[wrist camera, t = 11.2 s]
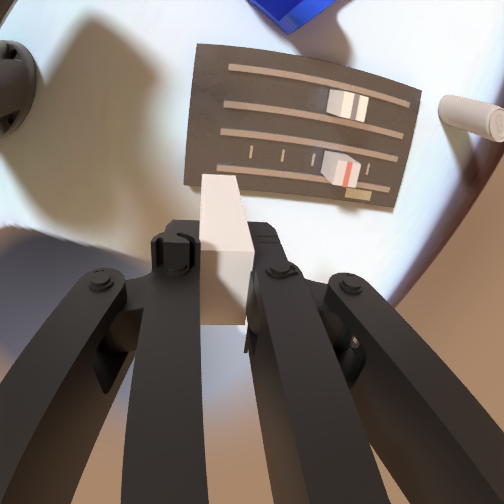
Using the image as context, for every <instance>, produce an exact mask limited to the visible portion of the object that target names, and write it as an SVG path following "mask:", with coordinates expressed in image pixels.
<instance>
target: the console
mask: <svg viewBox="0 0 504 504" xmlns="http://www.w3.org/2000/svg"><path fill="white" fill-rule="evenodd" d="M330 89H332V90H339V91H346V92H350V93H356V94H360V95H362V96H365V97H369V99H368V105H367V110H366V115H365V120H364V122H361V121H357V120H350V119H348V118H344V117H339V116H337V115H334V114H331V113H328V112H326V110H327V104H328V98H329V93H330ZM421 93H422V91H421V90H419V89H416V88H413V87H410V86H408V85H405V84H402V83H399V82H396V81H393V80H390V79H387V78H384V77H381V76H378V75H374V74H371V73H368V72H364V71H361V70H357V69H354V68H350V67H346V66H342V65H338V64H334V63H330V62H326V61H321V60H317V59H312V58H307V57H302V56H297V55H292V54H286V53H280V52H274V51H268V50H261V49H253V48H245V47H236V46H226V45H213V44H197V47H196V55H195V63H194V71H193V79H192V88H191V98H190V108H189V118H188V130H187V142H186V155H185V170H184V185H194V186H202V174H214V175H234V176H236V180H237V184H238V188H239V189H246V190H257V191H268V192H278V193H287V194H296V195H305V196H314V197H322V198H330V199H338V200H346V201H353V202H360V203H367V204H374V205H381V206H387V207H394V206H395V202H396V199H397V195H398V192H399V188H400V185H401V181H402V177H403V173H404V170H405V166H406V162H407V158H408V154H409V150H410V145H411V141H412V137H413V132H414V128H415V123H416V118H417V114H418V109H419V103H420V98H421ZM325 151H331V152H337V153H343V154H347V155H348V156H350V157H351V158H353V159H354V160H356V161H357V162H359V163H360V164H361V167H360V172H359V176H358V180H357V184H356V188H353V187H342V186H339V185H333V184H332V183H331V182H330V181H329V180H328V179H327V178H326V177H325V176H324V175H323V174H322V173H321V167H322V162H323V157H324V152H325Z"/></svg>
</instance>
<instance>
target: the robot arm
mask: <svg viewBox="0 0 504 504" xmlns="http://www.w3.org/2000/svg"><path fill="white" fill-rule="evenodd" d="M17 1H18V0H0V29H1V27H2V25H3V23H4V22H5V20H6V18H7V17H8V15H9V13H10V12H11V10H12V9H13V7H14V5H15V4H16V2H17ZM35 89H36V70H35V64H34V61H33V58H32V56H31V54H30V53H29V51H28V50H27V49H26V48H25V47H24V46H23V45H22V44H20V43H18V42H15V41H8V40H0V138H2V137H4V136H7V135H9V134H10V133H12V132H13V131H14V130H16V129H17V128H18V127H19V126H20V124H21V123H22V122H23V120H24V119H25V117H26V116H27V114H28V112H29V110H30V107H31V105H32V102H33V99H34V95H35ZM151 256H152V272H151V273H149V274H148V275H146V276H143V277H140V278H137V279H131V280H125V279H124V276H123V275H122V274H121V273H120V272H119V271H116V270H114V269H109V268H100V269H95V270H93V271H90V272H88V273H86V274H85V275H84V276H82V277H81V278H80V279H79V281H78V282H77V283H76V284H75V285H74V286H73V288H72V289H71V290H70V291H69V292H68V294H67V295H66V296H65V297H64V299H63V300H62V301H61V302H60V304H59V305H58V306H57V307H56V308H55V310H54V311H53V312H52V313H51V315H50V316H49V317H48V318H47V320H46V321H45V322H44V324H43V325H42V326H41V328H40V329H39V330H38V331H37V333H36V334H35V335H34V337H33V338H32V339H31V341H30V342H29V343H28V345H27V346H26V347H25V349H24V350H23V352H22V353H21V354H20V356H19V357H18V359H17V360H16V361H15V363H14V364H13V366H12V367H11V369H10V370H9V371H8V373H7V374H6V376H5V377H4V379H3V380H2V382H1V383H0V504H71V501H72V499H73V496H74V493H75V491H76V488H77V486H78V483H79V480H80V478H81V476H82V473H83V471H84V468H85V466H86V463H87V461H88V459H89V456H90V454H91V451H92V449H93V447H94V444H95V442H96V440H97V437H98V435H99V433H100V430H101V428H102V426H103V423H104V421H105V419H106V417H107V414H108V412H109V410H110V408H111V406H112V403H113V401H114V399H115V397H116V395H117V392H118V390H119V388H120V386H121V384H122V381H123V380H124V378H125V375H126V373H127V371H128V369H129V367H130V365H131V363H132V361H133V359H134V356H135V354H136V356H135V362H134V369H133V376H132V383H131V390H130V398H129V406H128V414H127V424H126V433H125V444H124V456H123V470H122V487H121V504H209V500H208V488H207V476H206V463H205V447H204V430H203V411H202V410H203V409H202V384H201V347H200V325H245V319H246V315H247V321H248V328H247V334H246V342H245V348H244V353H247V352H248V351H249V357H250V364H251V370H252V376H253V383H254V389H255V395H256V402H257V408H258V414H259V420H260V426H261V432H262V437H263V444H264V450H265V455H266V461H267V467H268V473H269V479H270V484H271V490H272V495H273V501H274V504H391V503H390V501H389V499H388V496H387V493H386V489H385V487H384V484H383V481H382V478H381V475H380V472H379V469H378V466H377V464H376V461H375V458H374V455H373V452H372V449H371V447H370V444H371V446H372V447H373V449H374V450H375V452H376V453H377V455H378V456H379V458H380V459H381V461H382V462H383V464H384V465H385V467H386V468H387V469H388V471H389V472H390V474H391V476H392V477H393V479H394V480H395V482H396V483H397V485H398V486H399V487H400V489H401V491H402V492H403V494H404V495H405V497H406V498H407V500H408V501H409V503H410V504H504V432H503V431H502V430H501V429H500V427H499V426H498V425H497V424H496V423H495V421H494V420H493V419H492V418H491V417H490V415H489V414H488V413H487V412H486V410H485V409H484V408H483V407H482V405H481V404H480V403H479V402H478V401H477V400H476V398H475V397H474V396H473V395H472V394H471V393H470V391H469V390H468V389H467V388H466V387H465V386H464V384H463V383H462V382H461V381H460V380H459V379H458V378H457V376H456V375H455V374H454V373H453V372H452V371H451V370H450V369H449V368H448V366H447V365H446V364H445V363H444V362H443V361H442V360H441V359H440V357H439V356H438V355H437V354H436V353H435V352H434V351H433V350H432V349H431V347H430V346H429V345H428V344H427V343H426V342H425V341H424V340H423V339H422V338H421V337H420V336H419V335H418V333H417V332H416V331H415V330H414V329H413V328H412V327H411V326H410V325H409V324H408V323H407V322H406V321H405V320H404V319H403V318H402V317H401V316H400V315H399V313H397V311H396V310H395V309H394V308H393V307H392V306H391V305H390V304H389V303H388V302H387V301H386V300H385V299H384V298H383V297H382V296H381V295H380V294H379V293H378V292H377V291H376V290H375V289H374V288H373V287H372V286H371V285H370V284H369V283H368V282H367V281H366V280H364V279H363V278H361V277H359V276H357V275H355V274H350V273H337V274H334V275H332V276H331V277H330V279H329V282H328V284H324V283H319V282H315V281H311V280H307V279H305V278H304V277H303V274H302V272H301V270H300V269H299V268H298V266H296V265H295V264H293V263H291V262H289V261H288V260H287V257H286V255H285V252H284V250H283V247H282V245H281V244H280V240H279V238H278V235H277V232H276V230H275V229H274V228H273V227H272V226H271V225H270V224H268V223H267V222H247V219H246V215H245V211H244V207H243V204H242V200H241V196H240V192H239V188H238V184H237V180H236V176H234V175H214V174H202V186H201V205H200V221H193V220H173V221H171V222H170V223H169V224H168V225H167V226H166V229H165V232H163V233H160V234H158V235H157V236H155V237H154V238H153V239H152V241H151ZM354 336H355V338H356V339H357V340H358V341H359V343H360V346H357V345H356V344H355V343H354V342H353V339H354ZM369 443H370V444H369Z"/></svg>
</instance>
